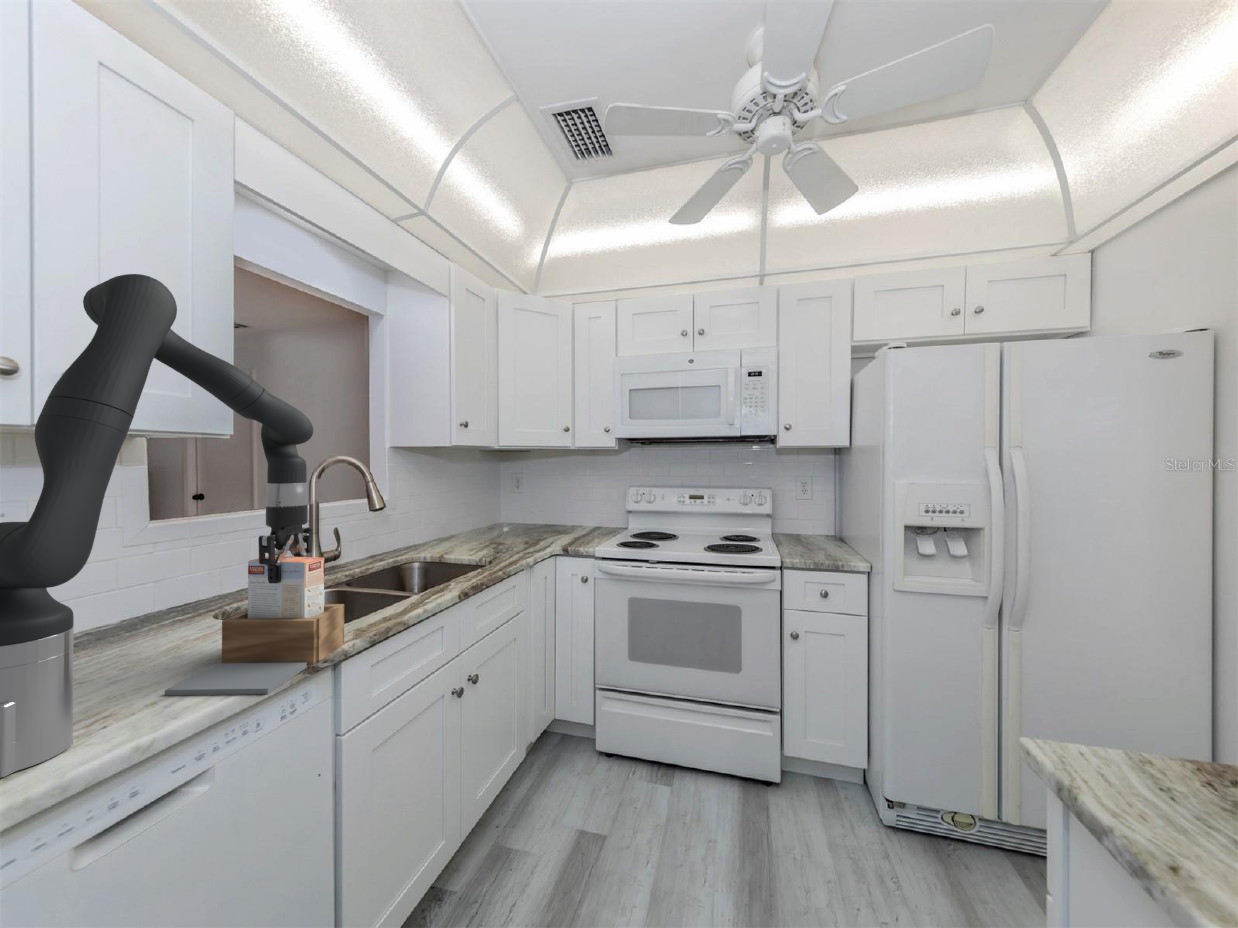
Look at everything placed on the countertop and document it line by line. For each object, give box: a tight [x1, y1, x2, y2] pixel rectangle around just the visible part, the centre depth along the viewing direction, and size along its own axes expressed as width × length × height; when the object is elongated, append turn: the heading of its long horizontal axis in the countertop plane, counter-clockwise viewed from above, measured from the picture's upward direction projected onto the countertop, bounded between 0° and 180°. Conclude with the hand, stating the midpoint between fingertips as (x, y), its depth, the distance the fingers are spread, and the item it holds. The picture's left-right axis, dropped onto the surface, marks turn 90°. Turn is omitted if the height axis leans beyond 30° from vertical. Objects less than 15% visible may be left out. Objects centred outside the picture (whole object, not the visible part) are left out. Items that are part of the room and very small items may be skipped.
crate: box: [221, 603, 345, 665], centre depth 102 cm, size 11×19×9 cm, turn 92°
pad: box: [164, 662, 308, 696], centre depth 89 cm, size 11×18×1 cm, turn 92°
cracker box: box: [247, 555, 325, 618], centre depth 102 cm, size 14×6×21 cm, turn 81°
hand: (286, 578), depth 102 cm, fingers open, 7 cm apart
